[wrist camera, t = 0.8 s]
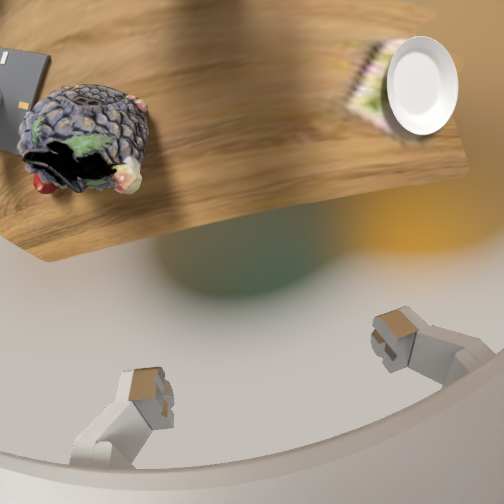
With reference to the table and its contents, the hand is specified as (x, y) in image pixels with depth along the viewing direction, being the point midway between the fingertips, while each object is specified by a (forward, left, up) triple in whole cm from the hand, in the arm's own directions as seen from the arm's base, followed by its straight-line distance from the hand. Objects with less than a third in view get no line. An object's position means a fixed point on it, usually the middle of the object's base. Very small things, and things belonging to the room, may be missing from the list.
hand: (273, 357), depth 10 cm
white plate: (-32, +41, -50) cm, 72 cm away
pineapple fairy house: (+7, -15, -49) cm, 52 cm away
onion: (+20, -22, -49) cm, 58 cm away
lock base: (+8, -40, -49) cm, 64 cm away
